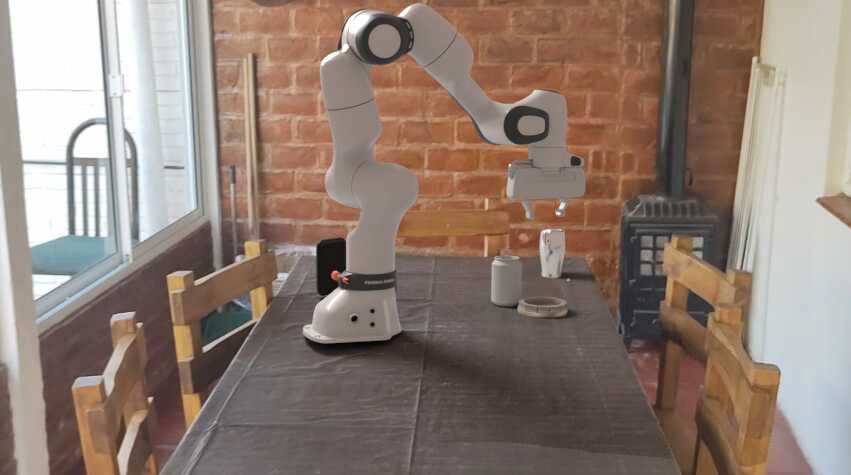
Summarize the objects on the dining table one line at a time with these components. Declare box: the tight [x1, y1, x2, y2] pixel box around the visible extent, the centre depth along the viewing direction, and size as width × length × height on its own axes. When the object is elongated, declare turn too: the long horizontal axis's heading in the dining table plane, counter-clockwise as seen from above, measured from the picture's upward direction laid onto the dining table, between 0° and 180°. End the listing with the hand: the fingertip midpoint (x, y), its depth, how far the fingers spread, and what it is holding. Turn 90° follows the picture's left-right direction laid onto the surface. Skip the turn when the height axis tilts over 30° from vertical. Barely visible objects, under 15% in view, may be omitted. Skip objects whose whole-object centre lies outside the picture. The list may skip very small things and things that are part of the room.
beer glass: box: [539, 228, 566, 279], centre depth 250 cm, size 7×7×15 cm
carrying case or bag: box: [315, 237, 346, 297], centre depth 235 cm, size 11×3×15 cm, turn 135°
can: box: [490, 255, 523, 307], centre depth 226 cm, size 8×8×12 cm
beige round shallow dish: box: [517, 295, 568, 319], centre depth 219 cm, size 12×12×2 cm
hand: (545, 217), depth 215 cm, fingers open, 7 cm apart
